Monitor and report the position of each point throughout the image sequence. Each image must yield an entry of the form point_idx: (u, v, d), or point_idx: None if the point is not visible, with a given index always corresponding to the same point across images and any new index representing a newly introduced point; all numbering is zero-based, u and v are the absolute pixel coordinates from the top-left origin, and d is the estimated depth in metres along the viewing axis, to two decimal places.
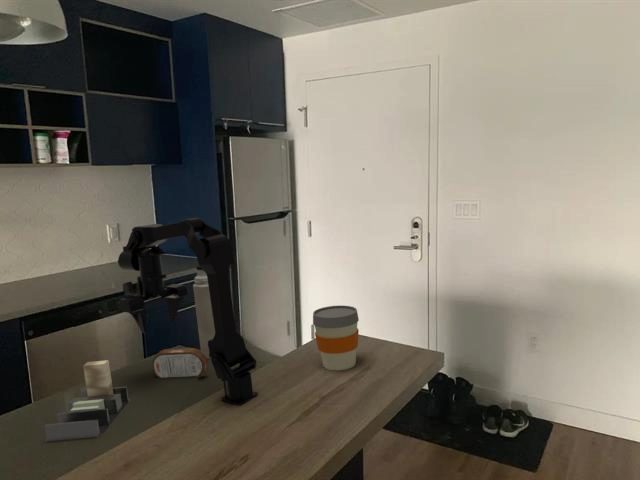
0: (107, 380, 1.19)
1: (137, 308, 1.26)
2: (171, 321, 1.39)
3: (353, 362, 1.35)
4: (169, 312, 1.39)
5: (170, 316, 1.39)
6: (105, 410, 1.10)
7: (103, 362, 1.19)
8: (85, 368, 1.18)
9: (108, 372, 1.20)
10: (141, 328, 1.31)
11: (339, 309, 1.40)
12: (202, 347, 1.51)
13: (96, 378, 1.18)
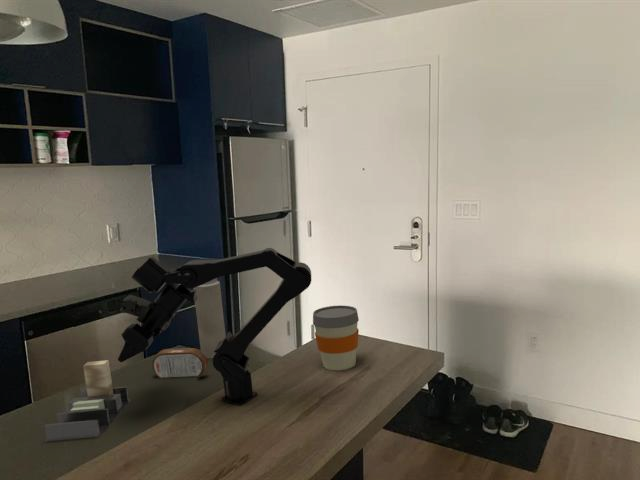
0: (107, 380, 1.19)
1: (146, 348, 1.11)
2: None
3: (353, 362, 1.35)
4: None
5: None
6: (105, 410, 1.10)
7: (103, 362, 1.19)
8: (85, 368, 1.18)
9: (108, 372, 1.20)
10: (122, 357, 1.14)
11: (339, 309, 1.40)
12: (202, 347, 1.51)
13: (96, 378, 1.18)
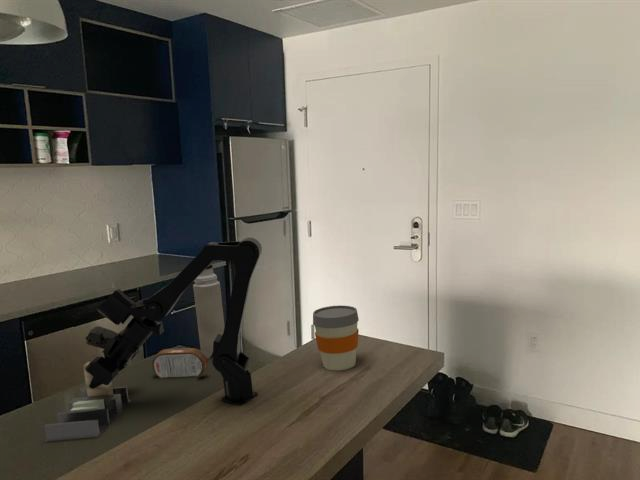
0: None
1: (110, 381, 1.12)
2: None
3: (353, 362, 1.35)
4: None
5: None
6: (105, 410, 1.10)
7: None
8: None
9: None
10: (93, 384, 1.18)
11: (339, 309, 1.40)
12: (202, 347, 1.51)
13: None
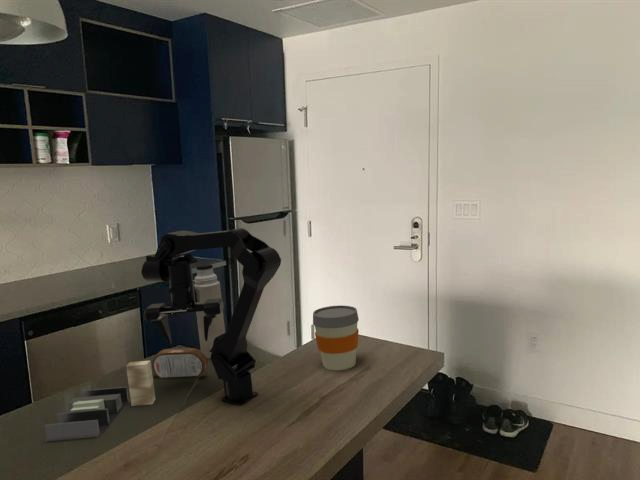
0: (149, 380, 1.19)
1: (150, 318, 1.22)
2: None
3: (353, 362, 1.35)
4: None
5: None
6: (105, 410, 1.10)
7: (145, 362, 1.19)
8: (128, 368, 1.18)
9: (150, 372, 1.20)
10: None
11: (339, 309, 1.40)
12: (202, 347, 1.51)
13: (138, 378, 1.19)
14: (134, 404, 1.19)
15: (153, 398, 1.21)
